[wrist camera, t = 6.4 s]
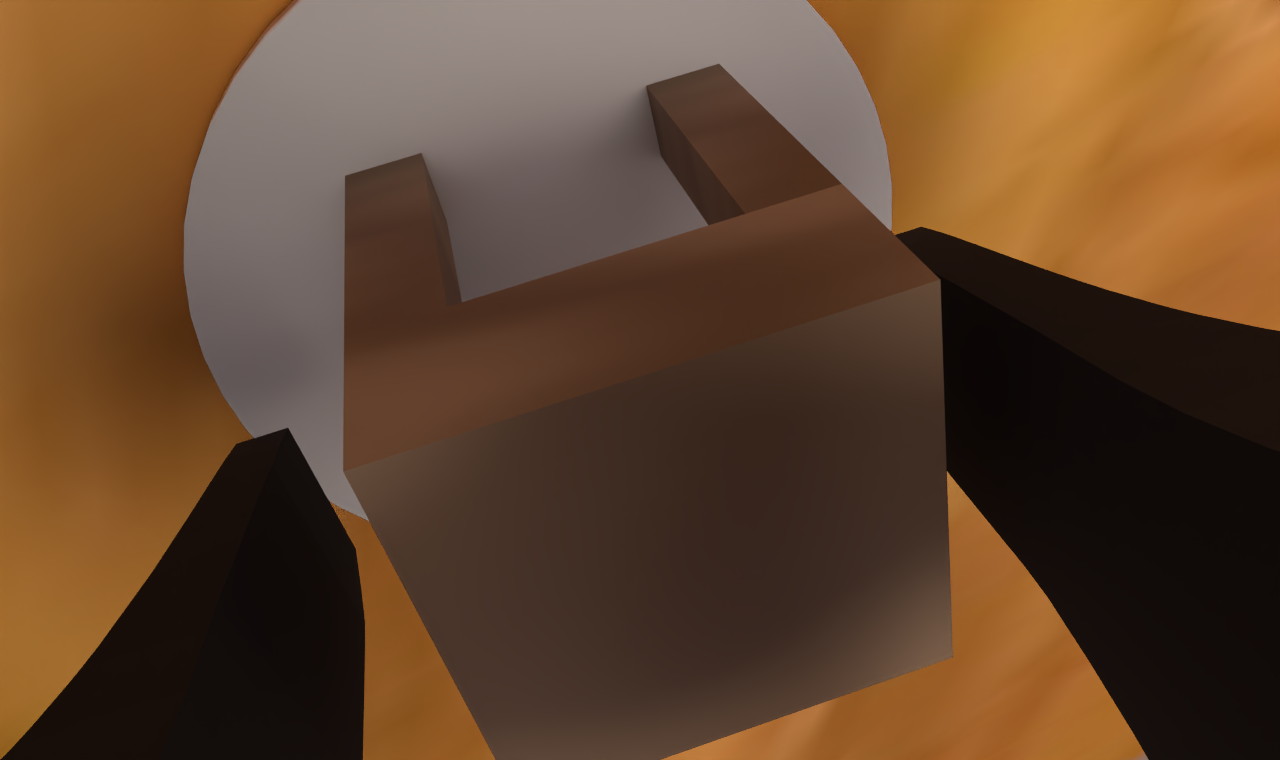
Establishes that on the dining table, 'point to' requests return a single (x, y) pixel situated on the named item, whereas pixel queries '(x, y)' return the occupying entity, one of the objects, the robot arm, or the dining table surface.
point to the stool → (657, 449)
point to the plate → (469, 161)
